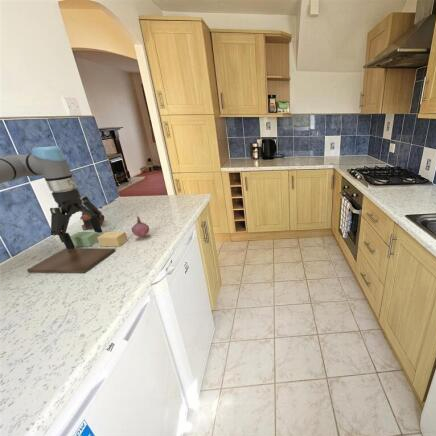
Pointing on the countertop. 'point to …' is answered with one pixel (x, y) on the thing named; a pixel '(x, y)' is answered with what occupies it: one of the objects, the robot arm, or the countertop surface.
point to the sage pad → (84, 238)
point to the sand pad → (112, 239)
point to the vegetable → (140, 228)
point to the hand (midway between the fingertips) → (85, 240)
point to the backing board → (72, 260)
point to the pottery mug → (88, 223)
